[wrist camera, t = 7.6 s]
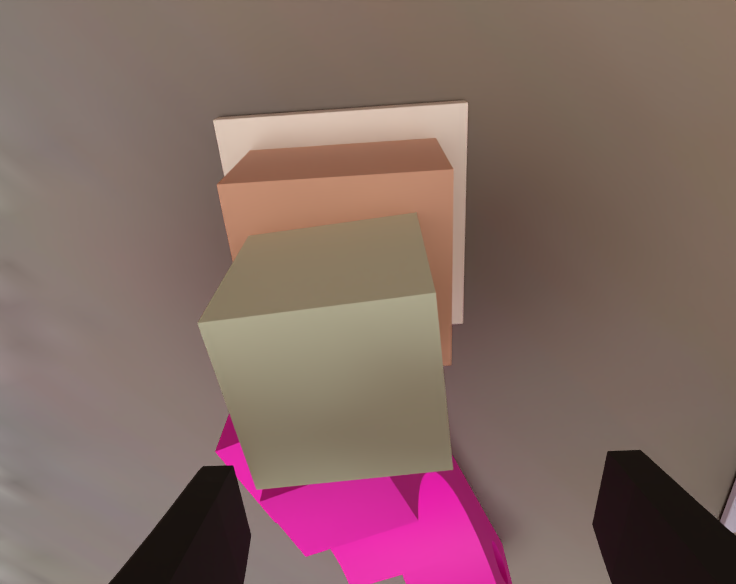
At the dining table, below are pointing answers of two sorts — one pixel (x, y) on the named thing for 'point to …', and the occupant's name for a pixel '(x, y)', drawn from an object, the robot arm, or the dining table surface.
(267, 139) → the baseplate
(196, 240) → the dining table surface
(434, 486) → the toy block
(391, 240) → the sage brick
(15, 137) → the dining table surface
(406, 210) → the terracotta brick
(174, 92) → the dining table surface
